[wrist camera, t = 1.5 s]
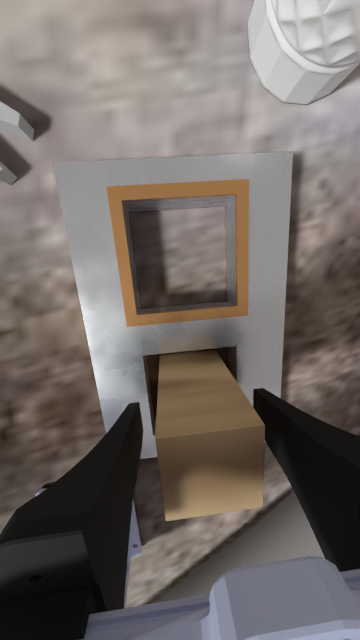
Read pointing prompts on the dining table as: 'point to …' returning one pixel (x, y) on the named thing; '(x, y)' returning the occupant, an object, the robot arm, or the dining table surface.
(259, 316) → the socket board
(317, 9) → the white cup
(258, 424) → the peg
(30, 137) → the pliers
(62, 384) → the dining table surface
